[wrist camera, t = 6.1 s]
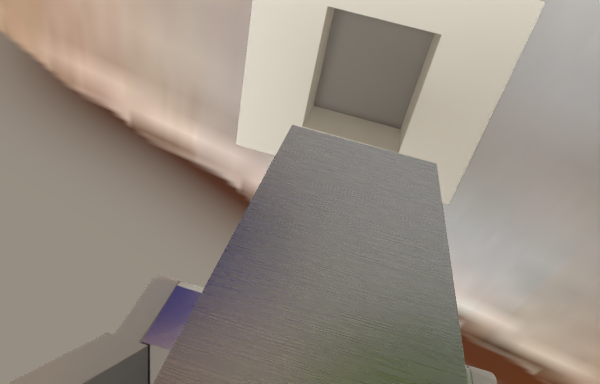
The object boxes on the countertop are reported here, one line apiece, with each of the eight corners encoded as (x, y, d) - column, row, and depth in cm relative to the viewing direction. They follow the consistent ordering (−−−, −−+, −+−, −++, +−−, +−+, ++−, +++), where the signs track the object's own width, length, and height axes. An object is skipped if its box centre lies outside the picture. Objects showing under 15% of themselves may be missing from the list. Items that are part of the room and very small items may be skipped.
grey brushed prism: (436, 163, 12) (525, 782, 3) (381, 292, 14) (352, 806, 6) (292, 124, 12) (30, 610, 4) (264, 258, 15) (81, 709, 6)
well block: (525, -12, 24) (545, 1, 20) (445, 169, 31) (448, 204, 27) (283, -70, 25) (260, -67, 21) (256, 117, 32) (235, 144, 28)
